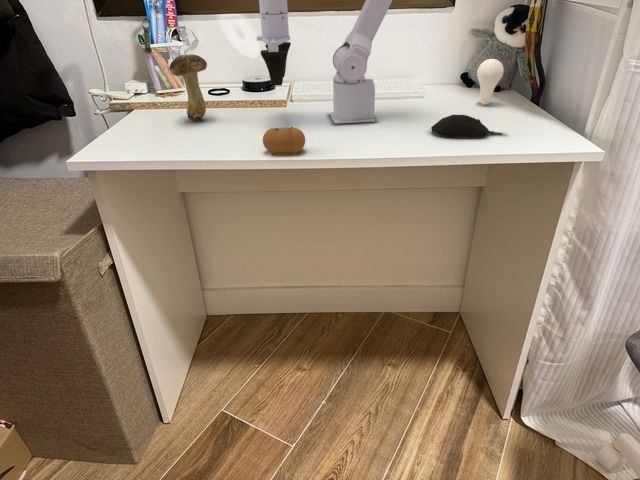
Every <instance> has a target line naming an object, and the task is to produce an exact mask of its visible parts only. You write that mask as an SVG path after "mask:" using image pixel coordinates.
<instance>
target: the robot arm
mask: <svg viewBox="0 0 640 480" xmlns="http://www.w3.org/2000/svg"><path fill="white" fill-rule="evenodd" d="M392 2H393V0H365V2H364V3H363V5H362V7H361V9H360V12H359V14H358V16H357V18H356V21H355V23H354V25H353V27H352V29H351V31H350V32H349V33H348V34H347V36H346V37H345V39H344V41H343V43H342V44H341V45H340V46H339V47H338V48H336V50H335V51H334V53H333V55H332V64H333V67H334V69H335V70H336V73H335V75H334V76H333V78H332V79H333V81H332V82H333V83H332V84H333V85H332V86H333V87H332V88H333V89H332V94H333V97H332V98H333V99H332V100H333V101H332V102H333V106H332V107H333V108H332V109H333V110H332V111H330V112H329V116H330V117H331V119H332V120H331V121H332V122H333V124H334V125H341V124H355V123H356V124H357V123H373V122H375V105H376V104H375V101H376V87H375V81H374V79H372V78H366V76H365V75H366V73H367V70H368V60H369V57H370V55H371V52H372V46H373V41H374V39H375V37H376V35H377V33H378V31H379V29H380V26H381V25H382V23H383V21H384V18H385V17H386V15H387V12H388V11H389V8H390V6H391V4H392ZM258 3H259V16H260V28H261V29H260V30H261V35H257V36H256V41H258V42H260V41H261V42H263V43H264V44H265V45H264V47H265V49H261V50H260V55H261V57H262V59H263V61H264V63H265V65H266V68H267V72H268V75H269V76H268V77H269V79H270V82H271V85H272V86H273V87H275V86H276V87H277V86H280V87H281V86H283V83H284V82H283V81H284V78H285V75H286V71H287V70H286V68H287V60H288V55H289V50H290V48H291V45H292V44H291V43H292V42H290V41H291V36H290V30H289V13H288V11H289V10H288V0H258Z"/></svg>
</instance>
